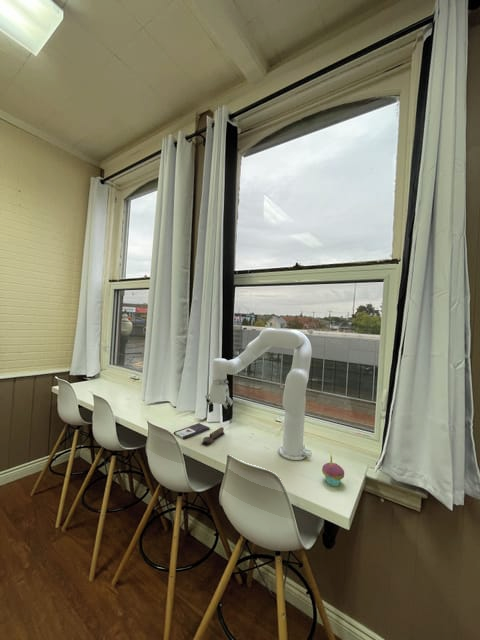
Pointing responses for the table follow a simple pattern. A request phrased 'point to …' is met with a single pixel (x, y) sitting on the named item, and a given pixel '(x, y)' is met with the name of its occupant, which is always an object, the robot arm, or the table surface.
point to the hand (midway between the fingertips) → (218, 413)
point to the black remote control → (213, 439)
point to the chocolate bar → (191, 430)
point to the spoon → (213, 435)
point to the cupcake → (333, 473)
